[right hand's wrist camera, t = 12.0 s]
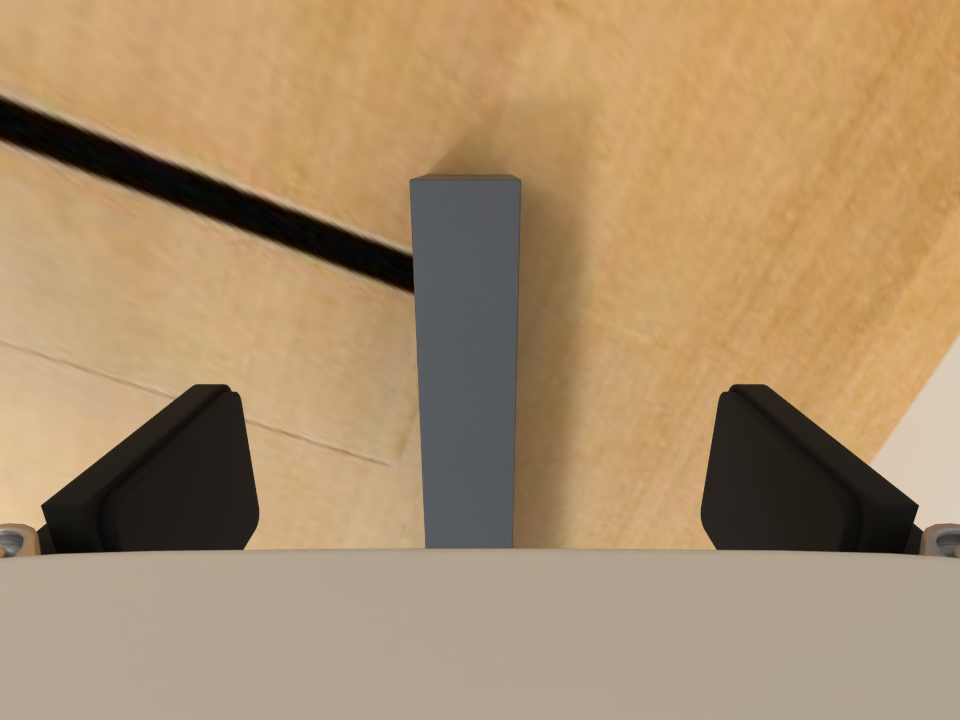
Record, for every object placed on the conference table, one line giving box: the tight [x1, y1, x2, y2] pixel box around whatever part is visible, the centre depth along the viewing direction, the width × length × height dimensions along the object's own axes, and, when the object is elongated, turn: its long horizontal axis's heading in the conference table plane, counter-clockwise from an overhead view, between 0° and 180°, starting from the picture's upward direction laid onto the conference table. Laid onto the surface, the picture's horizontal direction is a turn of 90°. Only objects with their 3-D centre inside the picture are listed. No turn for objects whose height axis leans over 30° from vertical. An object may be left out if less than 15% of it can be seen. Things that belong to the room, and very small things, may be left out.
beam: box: [410, 175, 521, 549], centre depth 42 cm, size 70×5×8 cm, turn 0°
